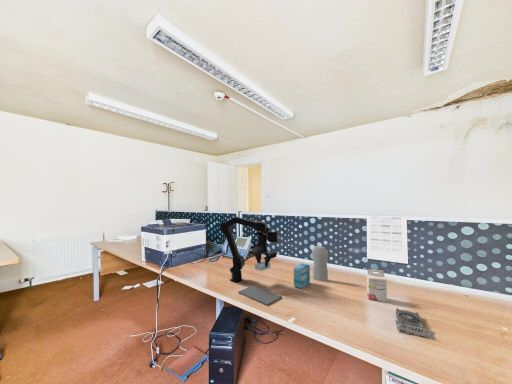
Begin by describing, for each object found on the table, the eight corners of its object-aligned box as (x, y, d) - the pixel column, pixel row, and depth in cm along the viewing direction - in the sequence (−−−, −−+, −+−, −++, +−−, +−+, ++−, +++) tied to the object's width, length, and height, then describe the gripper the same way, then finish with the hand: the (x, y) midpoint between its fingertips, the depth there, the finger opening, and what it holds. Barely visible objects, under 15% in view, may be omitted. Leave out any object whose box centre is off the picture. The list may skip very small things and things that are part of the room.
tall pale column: (311, 278, 145) (310, 245, 146) (313, 277, 149) (313, 244, 149) (327, 282, 139) (326, 247, 140) (329, 280, 143) (328, 246, 143)
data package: (300, 289, 129) (299, 269, 129) (293, 287, 132) (293, 267, 132) (310, 283, 138) (309, 264, 138) (303, 281, 141) (303, 262, 141)
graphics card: (435, 333, 82) (397, 323, 88) (435, 343, 82) (397, 333, 88) (426, 312, 97) (394, 305, 103) (426, 321, 97) (394, 313, 103)
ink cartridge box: (368, 299, 115) (368, 271, 116) (367, 295, 120) (366, 268, 120) (387, 302, 112) (386, 273, 113) (385, 298, 117) (384, 270, 117)
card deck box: (254, 269, 138) (254, 264, 138) (263, 265, 144) (263, 261, 144) (261, 270, 134) (261, 266, 134) (270, 267, 140) (270, 262, 140)
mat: (238, 293, 125) (238, 291, 125) (252, 286, 134) (252, 285, 134) (267, 306, 110) (267, 304, 110) (281, 297, 118) (281, 296, 118)
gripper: (243, 241, 140) (243, 266, 139) (265, 246, 127) (265, 273, 127) (255, 239, 148) (255, 262, 148) (277, 243, 135) (277, 268, 135)
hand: (262, 266), depth 139 cm, fingers closed on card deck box, 5 cm apart
